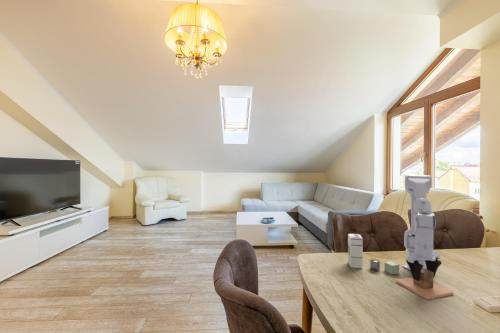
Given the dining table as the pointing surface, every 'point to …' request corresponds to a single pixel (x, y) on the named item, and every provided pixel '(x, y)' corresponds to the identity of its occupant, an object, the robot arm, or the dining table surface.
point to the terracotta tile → (425, 293)
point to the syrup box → (355, 251)
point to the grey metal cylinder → (375, 265)
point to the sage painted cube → (391, 267)
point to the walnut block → (425, 279)
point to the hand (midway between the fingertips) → (423, 278)
